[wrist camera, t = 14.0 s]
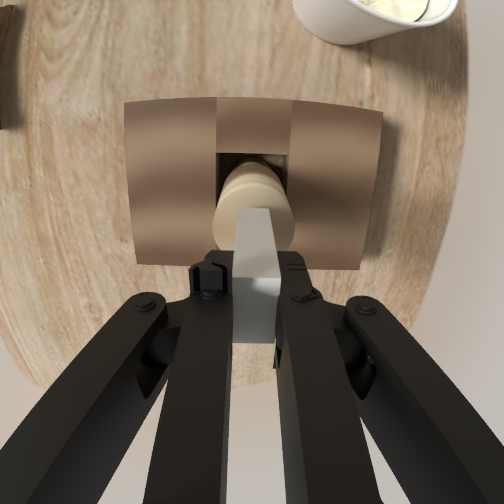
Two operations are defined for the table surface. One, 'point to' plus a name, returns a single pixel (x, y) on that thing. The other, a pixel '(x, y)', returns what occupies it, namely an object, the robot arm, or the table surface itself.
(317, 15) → the candle holder
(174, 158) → the wooden block with hole
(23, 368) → the table surface
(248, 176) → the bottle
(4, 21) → the wood plank
